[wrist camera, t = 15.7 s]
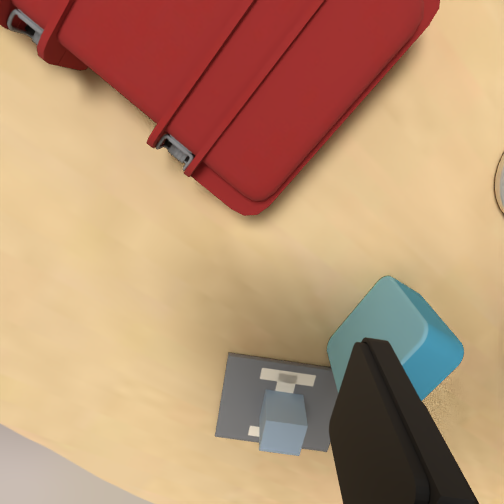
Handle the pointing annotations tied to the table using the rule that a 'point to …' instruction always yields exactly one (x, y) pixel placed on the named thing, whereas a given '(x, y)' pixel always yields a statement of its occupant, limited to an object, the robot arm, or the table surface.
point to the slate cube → (282, 423)
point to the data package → (399, 335)
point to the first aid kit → (231, 74)
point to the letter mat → (276, 379)
